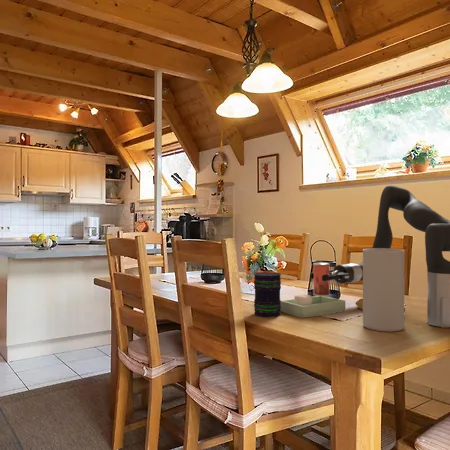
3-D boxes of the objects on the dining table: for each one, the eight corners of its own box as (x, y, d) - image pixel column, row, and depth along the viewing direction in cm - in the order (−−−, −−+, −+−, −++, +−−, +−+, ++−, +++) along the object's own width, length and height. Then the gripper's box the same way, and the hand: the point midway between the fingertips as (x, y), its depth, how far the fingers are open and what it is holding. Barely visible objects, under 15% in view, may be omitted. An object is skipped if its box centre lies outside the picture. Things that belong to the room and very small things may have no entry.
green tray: (320, 305, 174) (320, 295, 174) (345, 311, 163) (345, 300, 163) (279, 311, 163) (279, 300, 163) (303, 318, 152) (303, 306, 152)
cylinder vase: (371, 320, 148) (371, 247, 147) (409, 326, 140) (409, 249, 139) (356, 328, 138) (356, 250, 138) (396, 334, 130) (396, 251, 130)
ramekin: (315, 308, 159) (315, 296, 159) (301, 310, 156) (301, 298, 156) (305, 306, 165) (304, 294, 165) (291, 308, 162) (290, 296, 162)
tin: (332, 295, 163) (331, 264, 163) (316, 296, 162) (316, 264, 162) (326, 292, 169) (326, 262, 169) (311, 293, 168) (311, 262, 168)
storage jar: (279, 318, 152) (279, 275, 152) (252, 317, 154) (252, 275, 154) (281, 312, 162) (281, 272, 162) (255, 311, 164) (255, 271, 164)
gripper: (334, 262, 179) (303, 265, 170) (362, 265, 167) (330, 269, 158) (334, 280, 179) (303, 284, 170) (362, 285, 167) (330, 289, 158)
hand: (316, 277), depth 164 cm, fingers closed on tin, 6 cm apart
